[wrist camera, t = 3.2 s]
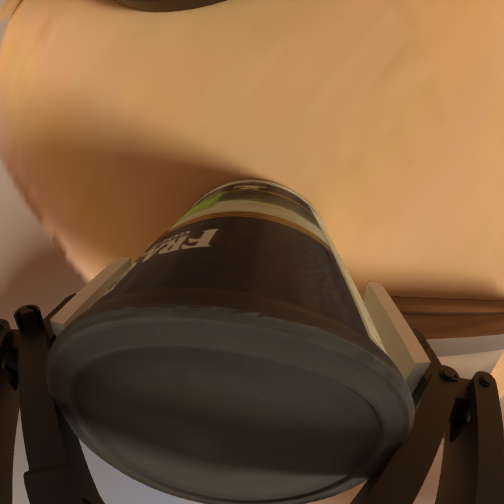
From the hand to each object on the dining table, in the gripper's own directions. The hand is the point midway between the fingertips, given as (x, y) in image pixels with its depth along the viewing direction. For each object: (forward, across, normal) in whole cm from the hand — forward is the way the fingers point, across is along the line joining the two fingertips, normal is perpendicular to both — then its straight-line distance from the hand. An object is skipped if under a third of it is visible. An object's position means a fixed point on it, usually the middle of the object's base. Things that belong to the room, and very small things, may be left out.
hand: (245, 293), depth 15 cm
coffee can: (+4, 0, 0) cm, 5 cm away
